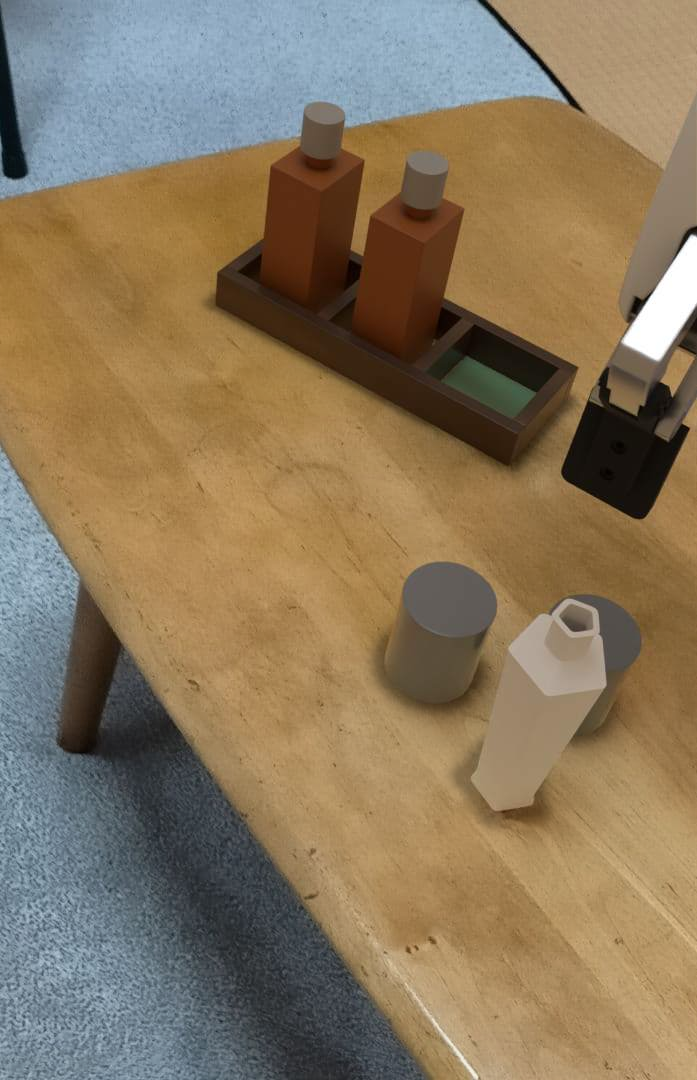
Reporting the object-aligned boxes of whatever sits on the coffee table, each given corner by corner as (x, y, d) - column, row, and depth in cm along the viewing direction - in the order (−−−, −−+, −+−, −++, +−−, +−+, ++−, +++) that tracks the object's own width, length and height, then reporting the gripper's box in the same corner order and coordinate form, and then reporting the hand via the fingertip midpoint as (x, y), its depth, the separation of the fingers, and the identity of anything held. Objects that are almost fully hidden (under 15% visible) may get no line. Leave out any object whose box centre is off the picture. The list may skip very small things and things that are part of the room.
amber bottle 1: (342, 301, 89) (373, 110, 78) (302, 334, 86) (328, 140, 75) (297, 277, 90) (321, 85, 79) (256, 309, 87) (275, 114, 76)
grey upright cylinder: (486, 670, 70) (514, 593, 65) (441, 729, 67) (467, 653, 62) (411, 624, 71) (433, 546, 66) (364, 681, 68) (383, 603, 63)
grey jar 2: (618, 700, 70) (657, 626, 64) (579, 761, 67) (617, 688, 61) (541, 654, 71) (573, 578, 66) (499, 712, 68) (530, 636, 63)
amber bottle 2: (432, 348, 87) (476, 159, 75) (394, 384, 84) (435, 192, 72) (384, 323, 88) (421, 133, 77) (345, 357, 85) (378, 165, 74)
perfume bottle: (445, 811, 64) (512, 638, 52) (470, 745, 66) (539, 567, 55) (529, 846, 63) (615, 679, 52) (551, 778, 66) (638, 605, 55)
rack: (285, 261, 92) (290, 218, 89) (564, 408, 85) (579, 367, 83) (214, 315, 87) (216, 271, 84) (505, 476, 80) (518, 434, 77)
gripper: (931, 114, 25) (658, 622, 38) (1088, -102, 36) (834, 352, 49) (608, -20, 27) (452, 503, 40) (846, -187, 38) (663, 270, 51)
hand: (661, 420), depth 44 cm, fingers open, 9 cm apart
